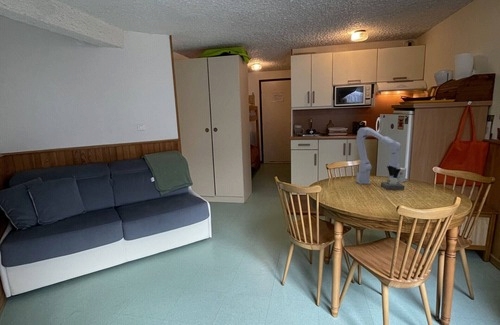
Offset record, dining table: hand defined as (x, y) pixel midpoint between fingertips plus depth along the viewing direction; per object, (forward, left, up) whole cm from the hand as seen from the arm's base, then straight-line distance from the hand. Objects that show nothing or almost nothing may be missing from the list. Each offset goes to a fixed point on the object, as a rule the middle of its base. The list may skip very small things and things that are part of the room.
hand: (393, 176), depth 200 cm
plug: (0, 0, -7) cm, 7 cm away
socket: (0, 0, -8) cm, 8 cm away
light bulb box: (+13, +21, -9) cm, 26 cm away
